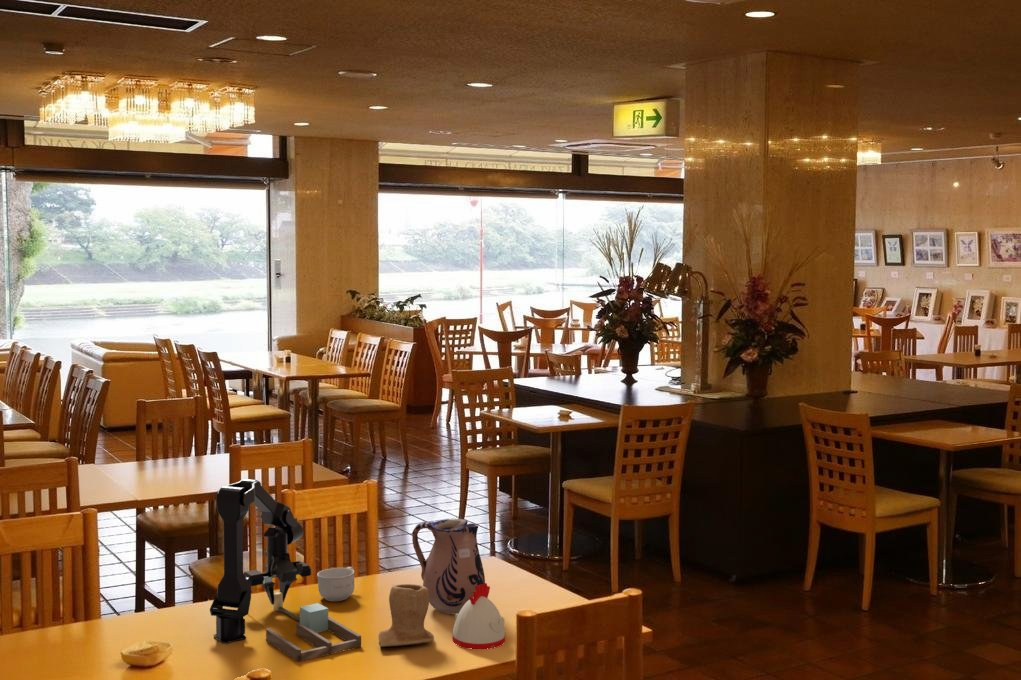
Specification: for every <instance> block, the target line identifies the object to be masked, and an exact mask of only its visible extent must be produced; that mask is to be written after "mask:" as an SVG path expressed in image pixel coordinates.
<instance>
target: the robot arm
mask: <svg viewBox="0 0 1021 680" xmlns="http://www.w3.org/2000/svg"><path fill="white" fill-rule="evenodd" d="M215 503H216V510H217V513H218V515H219V517H220V518H221V520H222V522H223V576H222V578H221V579H220V581H219V583H218V584H217V588H216V589H217V591H216V593H215V596H214V599H213V601H212V604H211V605H210V608H209V612H210V616H212V617H215V621H216V622H215V626H216V628H215V634H213V638H215V639H217V640H218V641H219V642H220V643H221V644H226V643H228V644H229V643H231V642H232V643H233V642H236V641H241V640H246V639H247V636H246V635H245V634H246V619H245V618H244V617H246V616H247V615H249V611H250V606H251V601H252V587H255V586H256V587H257V586H261V585H262V587H263V588H264V590H265V592H266V595H267V598H268V600H269V602H270V605H273V604H274V593H275V592H274V591H275V589H274V588H275V585H276V582H274V581H273V579H275V578H278V582H279V592H281V593H283V603H284V602H285V600H286V597H287V594H288V591H289V588H290V587H291V585H292V583H294V582H296V581H298V578H297V575H298V576H300V577H302V578H305V577H309V576H312V567H311V566H310V565H309V564H308V563H305V562H303V561H301V560H297V561H291V556H290V553H289V552H288V546H289V545H290V544H293V543H295V542H297V541H298V540H300V539H301V538H302V537H303V535H304V529H303V526H302V525H301V524H300V523H299V522H298V518H297V517H294V515H293V512H292V510H291V508H290V506H289V505H286V504H285V503H282V502H279V501H276V500H275V499H274V497H273V496H272V495H271V494H270V493H269V492H268V491H267V490H266V489H265V488H264V487H263V486H262V483H261V481H259V480H257V479H249V478H248V479H247V478H244V479H241V480H239V481H237V482H234V483H229V484H227V485H223V486H221V487H220V489H218V490H217V491H216V493H215ZM251 504H253V506H255V508H256V509H258V511H260V519H261V520H262V522H263V524H264V525H266V526H272V527H267V530H266V531H264V533H263V537H264V538H266V551H264V556H265V557H266V565H265V566H264V570H266V571H263V572H261V571H259V570H257V569H253V570H247V571H244V519H245V517H246V515H247V514H248V512H249V511H250V505H251ZM230 608H233V609H230Z"/></svg>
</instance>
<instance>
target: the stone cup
mask: <svg viewBox="0 0 1021 680" xmlns="http://www.w3.org/2000/svg"><path fill="white" fill-rule="evenodd" d="M388 603H389V610H390V614H391V626H390V628H388V629H385V630H382V631H381V630H380V631H379V633H378V645H379V647H380V648H384V647H385V648H387V647H401V646H402V647H403V646H410V645H419V644H424V643H425V644H427V643H430V642H433V641H434V639H435V636H434V634H433V633H432V632H430V631H429V630H427V629H426V628H425V621H426V620H425V619H426V616H427V613H428V610H429V606H430V603H429V591H428V589H427V588H426V587H424V586H423V585H421V584H411V583H409V584H408V583H407V584H404V583H403V584H396V585H395V584H394V585H392V586H391V589H390V592H389V596H388Z"/></svg>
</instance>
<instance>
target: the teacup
mask: <svg viewBox="0 0 1021 680" xmlns="http://www.w3.org/2000/svg"><path fill="white" fill-rule="evenodd" d="M316 576H317V586H318V587H317V588H318V594H319V595H320V597H322V598H324V600H326V601H328V602H340V601H345V600H347V599H349V598H350V596H351V595H352V594H353V593H354V591H355V569H354V567H352V566H347V567H331V568H326V569H323V570H320V571H318V572H317V573H316Z"/></svg>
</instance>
